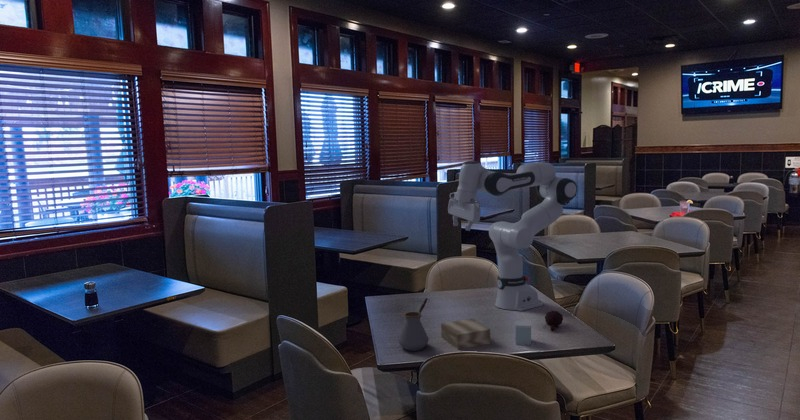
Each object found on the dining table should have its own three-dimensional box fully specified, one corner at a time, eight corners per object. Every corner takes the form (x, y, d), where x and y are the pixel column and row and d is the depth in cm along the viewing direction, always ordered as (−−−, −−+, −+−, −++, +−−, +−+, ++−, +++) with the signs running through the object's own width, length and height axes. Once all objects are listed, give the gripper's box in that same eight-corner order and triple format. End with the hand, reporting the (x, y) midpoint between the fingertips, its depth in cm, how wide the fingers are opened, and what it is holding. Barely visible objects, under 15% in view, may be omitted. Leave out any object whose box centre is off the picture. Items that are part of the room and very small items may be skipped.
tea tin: (515, 339, 212) (515, 320, 211) (529, 339, 211) (529, 320, 210) (515, 344, 206) (515, 325, 205) (531, 344, 205) (531, 325, 204)
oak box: (472, 332, 221) (472, 318, 220) (490, 344, 208) (490, 329, 207) (441, 338, 216) (441, 323, 215) (457, 350, 203) (457, 334, 202)
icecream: (546, 305, 232) (539, 319, 219) (563, 303, 228) (557, 316, 215) (550, 320, 232) (543, 335, 219) (567, 318, 229) (561, 333, 216)
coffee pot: (422, 354, 199) (421, 315, 197) (393, 350, 203) (392, 311, 202) (441, 335, 218) (440, 298, 216) (415, 331, 223) (414, 296, 221)
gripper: (486, 201, 232) (481, 233, 234) (459, 194, 249) (454, 223, 251) (474, 201, 229) (469, 233, 231) (447, 193, 246) (443, 223, 248)
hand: (461, 228), depth 241 cm, fingers open, 8 cm apart
